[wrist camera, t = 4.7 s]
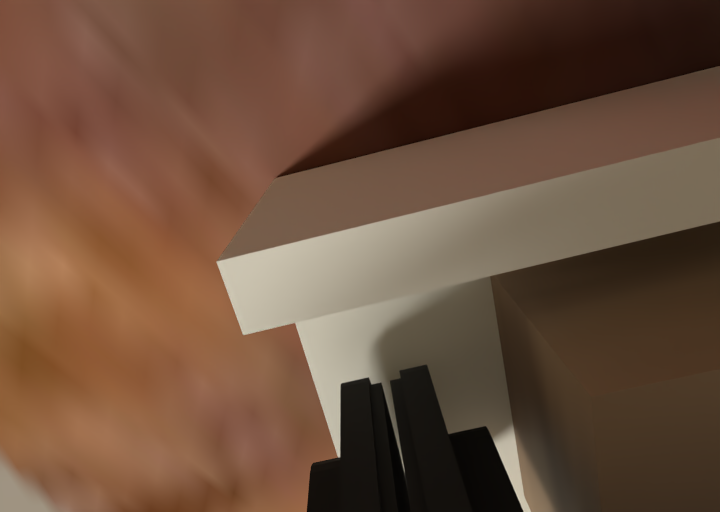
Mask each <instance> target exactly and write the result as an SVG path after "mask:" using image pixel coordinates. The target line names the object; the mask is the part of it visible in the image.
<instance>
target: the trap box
mask: <svg viewBox="0 0 720 512" xmlns="http://www.w3.org/2000/svg"><path fill="white" fill-rule="evenodd" d="M719 221H720V66H717V67H713V68H709V69H705V70H702V71H698V72H694V73H690V74H686V75H682V76H678V77H674V78H670V79H666V80H662V81H658V82H654V83H650V84H646V85H642V86H638V87H634V88H630V89H626V90H622V91H618V92H614V93H610V94H607V95H603V96H599V97H595V98H591V99H587V100H583V101H579V102H575V103H571V104H567V105H563V106H559V107H555V108H551V109H547V110H543V111H539V112H535V113H531V114H527V115H523V116H519V117H515V118H511V119H508V120H504V121H500V122H496V123H492V124H488V125H484V126H480V127H476V128H472V129H468V130H464V131H460V132H456V133H452V134H448V135H444V136H440V137H436V138H432V139H428V140H424V141H420V142H416V143H413V144H409V145H405V146H401V147H397V148H393V149H389V150H385V151H381V152H377V153H373V154H369V155H365V156H361V157H357V158H353V159H349V160H345V161H341V162H337V163H333V164H329V165H325V166H321V167H317V168H314V169H310V170H306V171H302V172H298V173H294V174H290V175H286V176H282V177H278V178H275V179H274V180H273V182H272V183H271V185H270V186H269V187H268V189H267V190H266V192H265V193H264V195H263V196H262V197H261V199H260V200H259V202H258V203H257V205H256V206H255V207H254V209H253V210H252V212H251V213H250V215H249V216H248V217H247V219H246V220H245V222H244V223H243V225H242V226H241V227H240V229H239V230H238V232H237V233H236V235H235V236H234V237H233V239H232V240H231V242H230V243H229V245H228V246H227V247H226V249H225V250H224V252H223V253H222V255H221V256H220V257H219V259H218V260H217V264H218V267H219V270H220V272H221V275H222V278H223V281H224V283H225V286H226V289H227V292H228V294H229V297H230V300H231V303H232V306H233V308H234V311H235V314H236V317H237V319H238V322H239V325H240V328H241V330H242V333H243V335H246V334H250V333H254V332H258V331H263V330H267V329H271V328H275V327H279V326H284V325H288V324H292V323H295V324H296V327H297V330H298V333H299V336H300V340H301V343H302V346H303V349H304V352H305V355H306V358H307V361H308V365H309V368H310V371H311V374H312V377H313V380H314V383H315V386H316V389H317V393H318V396H319V399H320V402H321V405H322V408H323V411H324V414H325V418H326V421H327V424H328V427H329V430H330V433H331V436H332V439H333V443H334V446H335V449H336V452H337V455H338V458H339V457H340V390H341V383H345V382H350V381H354V380H359V379H363V378H368V377H369V379H370V382H371V385H372V384H376V383H382V386H383V390H384V394H385V398H386V402H387V406H388V409H389V413H390V417H391V421H392V425H393V429H394V433H395V437H396V441H397V445H398V449H399V453H400V457H401V461H402V464H403V458H402V452H401V446H400V440H399V434H398V428H397V421H396V415H395V409H394V403H393V397H392V391H391V385H390V380H394V379H399V378H401V377H400V372H399V370H404V369H408V368H413V367H417V366H422V365H426V364H427V366H428V369H429V373H430V376H431V379H432V382H433V386H434V389H435V392H436V395H437V399H438V402H439V405H440V409H441V412H442V415H443V418H444V422H445V425H446V428H447V431H448V434H451V433H455V432H460V431H464V430H469V429H474V428H478V427H483V426H486V427H487V428H488V430H489V432H490V434H491V437H492V439H493V441H494V444H495V446H496V448H497V451H498V453H499V455H500V458H501V460H502V462H503V465H504V467H505V469H506V472H507V474H508V476H509V479H510V481H511V483H512V486H513V488H514V490H515V493H516V495H517V497H518V500H519V502H520V504H521V507H522V509H523V511H524V512H531V510H530V508H529V506H528V504H527V501H526V499H525V497H524V492H523V485H522V479H521V472H520V466H519V459H518V453H517V446H516V440H515V434H514V427H513V421H512V414H511V408H510V401H509V395H508V388H507V382H506V376H505V369H504V363H503V356H502V350H501V343H500V337H499V330H498V324H497V318H496V311H495V305H494V298H493V292H492V285H491V279H490V276H493V275H497V274H501V273H506V272H510V271H514V270H518V269H522V268H526V267H531V266H535V265H539V264H543V263H547V262H552V261H556V260H560V259H564V258H568V257H573V256H577V255H581V254H585V253H589V252H593V251H598V250H602V249H606V248H610V247H614V246H619V245H623V244H627V243H631V242H635V241H640V240H644V239H648V238H652V237H656V236H660V235H665V234H669V233H673V232H677V231H681V230H686V229H690V228H694V227H698V226H702V225H707V224H711V223H715V222H719ZM403 468H404V464H403ZM404 472H405V470H404Z"/></svg>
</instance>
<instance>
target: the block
mask: <svg viewBox="0 0 720 512" xmlns="http://www.w3.org/2000/svg"><path fill="white" fill-rule="evenodd" d="M490 279H491V285H492V292H493V298H494V305H495V311H496V318H497V324H498V330H499V337H500V343H501V350H502V356H503V363H504V369H505V376H506V382H507V388H508V395H509V401H510V408H511V414H512V421H513V427H514V434H515V440H516V446H517V453H518V459H519V466H520V472H521V479H522V485H523V492H524V497H525V499H526V501H527V504H528V506H529V508H530V510H531V512H720V221H719V222H715V223H711V224H707V225H702V226H698V227H694V228H690V229H686V230H681V231H677V232H673V233H669V234H665V235H660V236H656V237H652V238H648V239H644V240H640V241H635V242H631V243H627V244H623V245H619V246H614V247H610V248H606V249H602V250H598V251H593V252H589V253H585V254H581V255H577V256H573V257H568V258H564V259H560V260H556V261H552V262H547V263H543V264H539V265H535V266H531V267H526V268H522V269H518V270H514V271H510V272H506V273H501V274H497V275H493V276H490Z"/></svg>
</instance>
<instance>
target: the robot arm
mask: <svg viewBox="0 0 720 512" xmlns="http://www.w3.org/2000/svg"><path fill="white" fill-rule="evenodd" d="M399 372H400V377H401V378H399V379H394V380H390V385H391V391H392V397H393V403H394V409H395V415H396V421H397V428H398V434H399V440H400V446H401V452H402V458H403V464H404V468H403V464H402V461H401V457H400V453H399V449H398V445H397V441H396V437H395V433H394V429H393V425H392V421H391V417H390V413H389V409H388V406H387V402H386V398H385V394H384V390H383V386H382V383H376V384H372V385H371V382H370V379H369V377H368V378H363V379H359V380H354V381H350V382H345V383H341V390H340V457H339V458H335V459H330V460H325V461H321V462H316V463H313V464H312V466H311V471H310V481H309V493H308V506H307V512H524V511H523V509H522V507H521V504H520V502H519V500H518V497H517V495H516V493H515V490H514V488H513V486H512V483H511V481H510V479H509V476H508V474H507V472H506V469H505V467H504V465H503V462H502V460H501V458H500V455H499V453H498V451H497V448H496V446H495V444H494V441H493V439H492V437H491V434H490V432H489V430H488V428H487V427H486V426H483V427H478V428H474V429H469V430H464V431H460V432H455V433H451V434H448V431H447V428H446V425H445V422H444V418H443V415H442V412H441V409H440V405H439V402H438V399H437V395H436V392H435V389H434V386H433V382H432V379H431V376H430V373H429V369H428V366H427V364H426V365H422V366H417V367H413V368H408V369H404V370H399ZM404 470H405V472H404Z"/></svg>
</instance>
